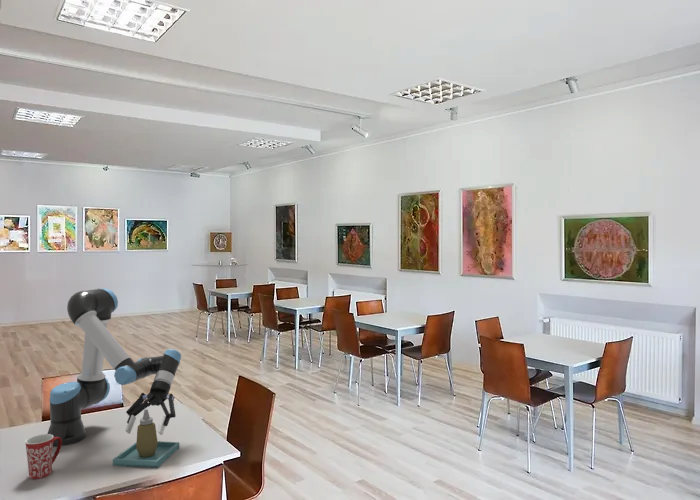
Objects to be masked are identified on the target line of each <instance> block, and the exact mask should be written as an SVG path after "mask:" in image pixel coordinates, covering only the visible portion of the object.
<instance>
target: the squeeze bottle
mask: <svg viewBox="0 0 700 500" xmlns="http://www.w3.org/2000/svg"><path fill="white" fill-rule="evenodd" d="M143 411H144V412H143V417H142V418H140V420H139V425H137V430H136V442H135V443H136V449H137V451H138V454H139V456H140V457H149V456H152V455H154V454H155V451H156V448H157V445H158V436H157V428H156V424H155V422H154V421H153V419H154V418H153V417H151V416H150V413H149V410H148V409H147V408H145V409H144V410H143Z"/></svg>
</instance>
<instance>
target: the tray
mask: <svg viewBox="0 0 700 500" xmlns="http://www.w3.org/2000/svg"><path fill="white" fill-rule="evenodd" d="M157 441H158V440H157ZM179 449H180V442H179V441H175V442H174V441H161V440H159V441H158V445H157V448H156V451H155V454H154V455H152V456H149V457H140V456H139V454H138V451H137V449H136V442H135V443H133V444H132V445H130V446H129V447H128V448H126V449H124V451H122V452H120V454H118V455H117V456H115V457H114V458H113V459H112V466H114V467H128V468H129V467H131V468H148V469H149V468H151V469H158V468H159V467H160V466H161V465H162V464H163V463H165V462H166V461H167V460H168V459H169V458H170V457H171V456H173V454H175V452H177V451H179Z"/></svg>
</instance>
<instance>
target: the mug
mask: <svg viewBox="0 0 700 500" xmlns="http://www.w3.org/2000/svg"><path fill="white" fill-rule="evenodd" d="M56 439H57V440H58V446H56V449H55V452H54V451H53V450H54V449H53V448H54V446H53V443H54V441H55V440H56ZM24 443H25V450H26V458H27V460H26V461H27V469H28V476H29V479H31V480H36V479H37V480H38V479H39V480H40V479H43V478H46V477H48V476H50V475H51V474H52V473H53V464H54V462H55V461H56V459H57V458H58V455H59V453H60V451H61V450H62V446H63V445H62V440H61V438H60V437H54V436H53V435H51V434H48V433H42V434H38V435H33V436H31V437H29V438H27V439H26V440H24ZM53 453H54V454H53Z"/></svg>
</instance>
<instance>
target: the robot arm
mask: <svg viewBox="0 0 700 500" xmlns="http://www.w3.org/2000/svg"><path fill="white" fill-rule="evenodd" d="M118 305H119V301H118V297H117V295H116V294H115V292H113V291H112V290H111V289H109V288H95V289H88V290H80V291H78V292H75V293H73V295H72V296H70V297H69V299H68V302H67V304H66V307H67V308H66V310H67V313H68V314H67V315H68V317H69V319H70V321H71V322H72V324H74V326H75V327H77V328H80V329H81V330H82V331H83V333H84V341H83V342H84V344H83V352H82V354H83V355H82V362H81V363H82V364H81V372H80V373H79V374H78V375H77V376H76V377H77V378H76V381H68V382H66V383H61V384H57V385H56V386H54V387H53V388H52V389H51V390H50V393H49V400H48V401H49V413H50V414H49V415H50V417H49V418H50V425H49V428H48V430H47V434H51V435H53V436H54V437H60V438H61V440H62V446H67V445H71V444H75V443H78V442H80V441H82V440H84V439H85V438H86V436H87V431H86V428H85V425H84V423H83V420H82V410H83V409H86V408H89V407H91V406H94V405H97V404H99V403H101V402H103V401H104V400H106V399H107V397H108V396H109V394H110V390H111V385H110V382H109V380H108V379H107V377H106V374H105V373H104V371H103V370H104V369H103V367H104V358H105V360H106V361H107V363H109V365H110V366H111V367H112V368H113V369H114V375H113V376H114V378H115V379H114V380H115V382H116V383H117V384H119V385H121V386H125V385H129V384H132V383H134V382H137V381H139V380H142V379H144V378H147V377H149V376H153V375H155V376H154V378H153V382H152V384H151V385H150V386H151V387H150V389H149V393H145V392H141V394H140V395H139V397H138V398H137V399H136V401H135V402H133V404H132V405H131V406H130V407H129V408H128V409H127V410H126V411H125V413H126V414H127V416H129V417H128V419H127V421H126V423H127V425H126V428H125V432H126V433H127V434H130V435H131V432H132V431H133V426H134V424H135V422H136V420H137V417H136V416H137V415H139V414H140V413H142V412H143V411H144V410H146V409H147V408H148V407H150V406H157V407H159V406H161V409H162V410H163V412H164V416H162V419H161V422H160V425H159V428H158V430H157V433H158V434H159V435H160V436H163V434H164V431H165V428H166V427H167V426H169V422H170V419H171V418H174V419H175V418H176V416H177V415H176V409H175V403H174V401H175V396H174V395H173V393H170V390H171V387H172V384H173V383H174V379H175V376H176V373H177V370H178V368H179V365H180V363H181V358H182V354H181V352H179V351H178V350H176V349H172V348H169V349H167V350H165V351H164V353H163V355H159V356H150V357H147V356H146V357H142V358H139V359H138V360H136V361H134V360H133V359H132V358H131V356H130V355H129V354H128V353H127V351H125V349H124V348H123V347H122V345H121V344H120V343H119V342H118V341H117V339H116V338H115V337H114V336H113V335H112V333H111V332H110V331H109V329H107V327H108V326H107V325H108V324H107V323H109V321H110V320H111V319H112V313H113V312H115V311H116V310H117V309H118V307H119V306H118ZM167 400H168V406H169V410H168V407H167V406H166V403H165V401H167ZM57 446H58V440H57V439H56V440H55V441H54V443H53V447H57Z"/></svg>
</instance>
